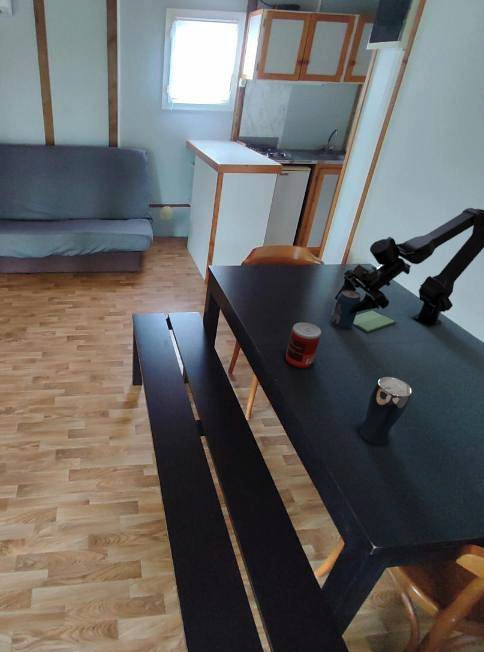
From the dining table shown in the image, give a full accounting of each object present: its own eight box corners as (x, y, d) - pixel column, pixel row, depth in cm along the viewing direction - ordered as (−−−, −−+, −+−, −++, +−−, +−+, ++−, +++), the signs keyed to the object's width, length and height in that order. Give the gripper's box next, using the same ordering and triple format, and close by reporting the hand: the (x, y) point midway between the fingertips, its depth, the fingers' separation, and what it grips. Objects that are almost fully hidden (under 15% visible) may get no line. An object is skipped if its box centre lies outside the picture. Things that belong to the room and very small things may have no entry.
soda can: (353, 324, 139) (364, 292, 133) (349, 332, 134) (360, 300, 128) (332, 317, 142) (342, 286, 136) (327, 326, 138) (337, 294, 131)
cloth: (371, 311, 147) (372, 309, 147) (394, 322, 140) (395, 321, 140) (344, 319, 142) (345, 318, 141) (367, 332, 135) (367, 330, 135)
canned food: (312, 356, 123) (321, 324, 117) (312, 371, 117) (321, 339, 111) (285, 350, 125) (293, 320, 119) (284, 365, 119) (292, 333, 113)
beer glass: (351, 425, 99) (370, 376, 91) (378, 423, 99) (400, 375, 91) (366, 447, 93) (389, 397, 85) (395, 445, 94) (420, 396, 85)
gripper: (357, 246, 133) (317, 278, 138) (393, 269, 118) (346, 304, 123) (372, 267, 138) (332, 298, 143) (408, 292, 123) (362, 325, 128)
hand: (342, 305), depth 134 cm, fingers open, 9 cm apart
